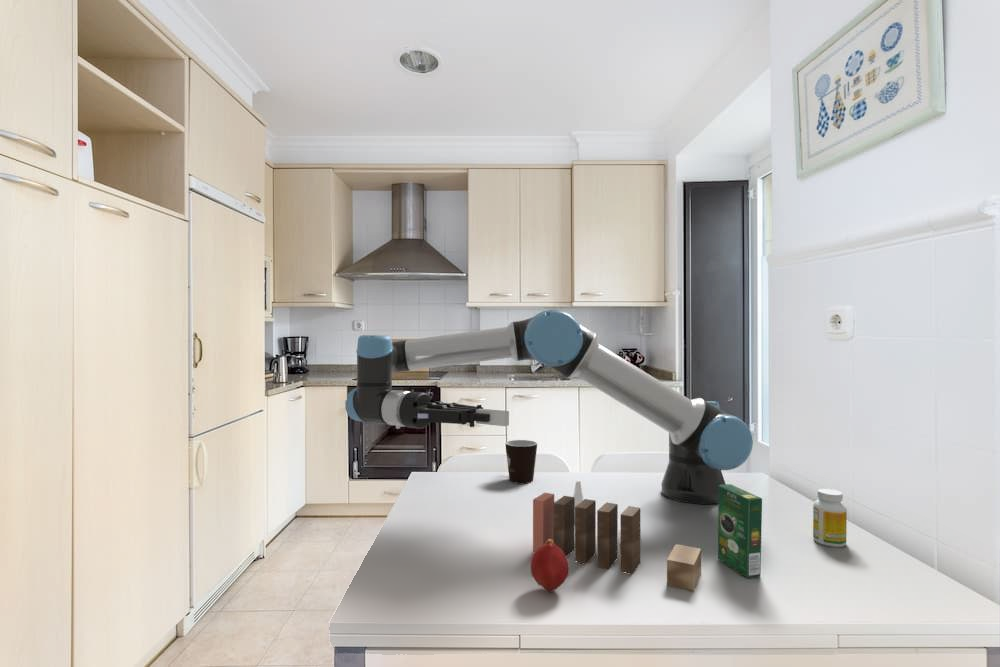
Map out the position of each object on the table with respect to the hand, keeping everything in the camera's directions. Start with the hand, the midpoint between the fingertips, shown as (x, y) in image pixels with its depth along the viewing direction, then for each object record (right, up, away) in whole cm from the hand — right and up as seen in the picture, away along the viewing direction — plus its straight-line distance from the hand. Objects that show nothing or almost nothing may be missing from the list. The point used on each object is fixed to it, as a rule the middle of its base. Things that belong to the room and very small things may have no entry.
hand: (506, 418), depth 101 cm
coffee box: (+39, -23, -12) cm, 47 cm away
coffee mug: (+5, -24, +44) cm, 50 cm away
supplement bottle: (+61, -24, 0) cm, 65 cm away
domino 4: (+17, -23, -10) cm, 30 cm away
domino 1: (+7, -23, -4) cm, 24 cm away
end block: (+28, -23, -16) cm, 40 cm away
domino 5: (+21, -23, -11) cm, 33 cm away
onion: (+6, -23, -20) cm, 31 cm away
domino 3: (+14, -23, -8) cm, 28 cm away
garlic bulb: (+16, -24, +13) cm, 31 cm away
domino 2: (+10, -23, -6) cm, 26 cm away
